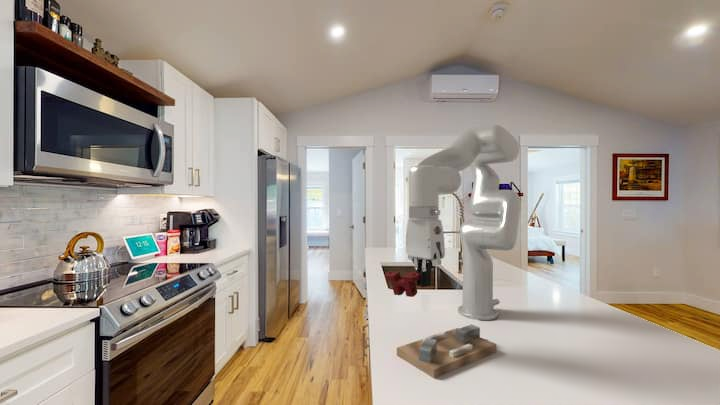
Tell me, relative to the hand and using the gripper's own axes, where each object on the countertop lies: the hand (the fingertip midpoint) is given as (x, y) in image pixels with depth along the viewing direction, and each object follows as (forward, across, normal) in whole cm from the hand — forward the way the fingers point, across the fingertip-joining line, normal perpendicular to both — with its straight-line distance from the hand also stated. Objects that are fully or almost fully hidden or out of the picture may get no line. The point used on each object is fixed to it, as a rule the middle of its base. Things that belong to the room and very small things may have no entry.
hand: (423, 285), depth 81 cm
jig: (+16, -6, -2) cm, 17 cm away
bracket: (0, -1, +2) cm, 2 cm away
